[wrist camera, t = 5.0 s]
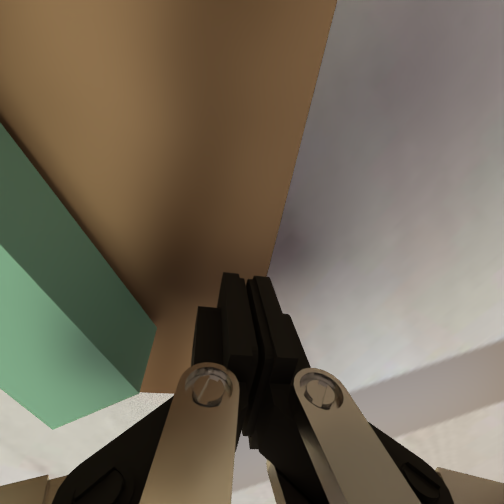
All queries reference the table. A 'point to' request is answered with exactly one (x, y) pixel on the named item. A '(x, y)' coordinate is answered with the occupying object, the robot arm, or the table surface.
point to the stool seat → (165, 137)
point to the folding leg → (61, 306)
